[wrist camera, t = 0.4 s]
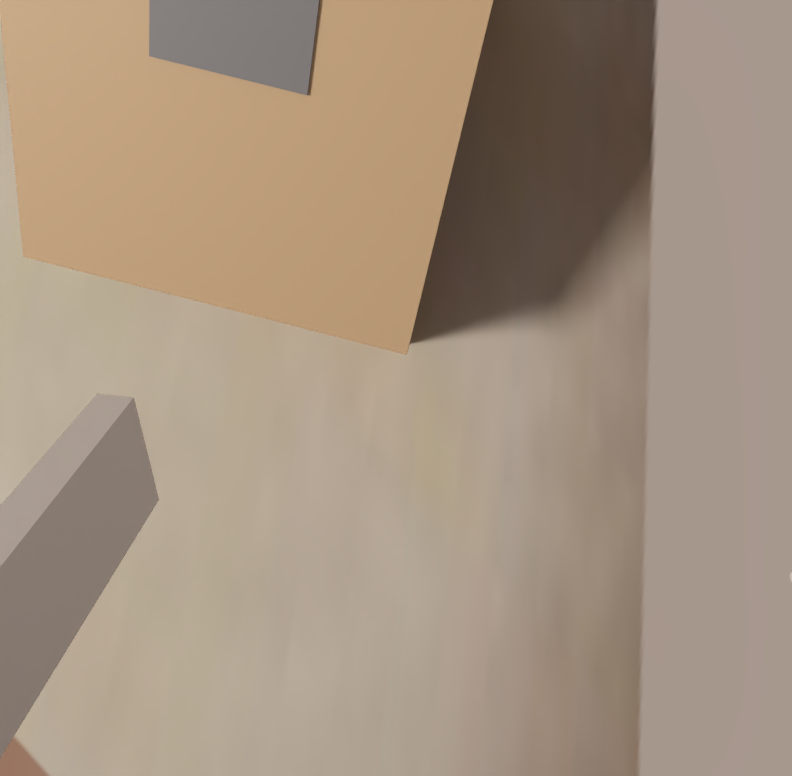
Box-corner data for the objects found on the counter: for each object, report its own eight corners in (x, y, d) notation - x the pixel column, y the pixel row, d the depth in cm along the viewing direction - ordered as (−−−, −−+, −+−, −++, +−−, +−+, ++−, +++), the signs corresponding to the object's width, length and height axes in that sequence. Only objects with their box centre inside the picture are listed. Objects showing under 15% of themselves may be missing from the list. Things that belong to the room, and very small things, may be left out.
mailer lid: (409, 344, 27) (406, 356, 26) (35, 248, 27) (21, 257, 26) (582, -362, 16) (584, -377, 16) (-28, -503, 17) (-54, -524, 16)
